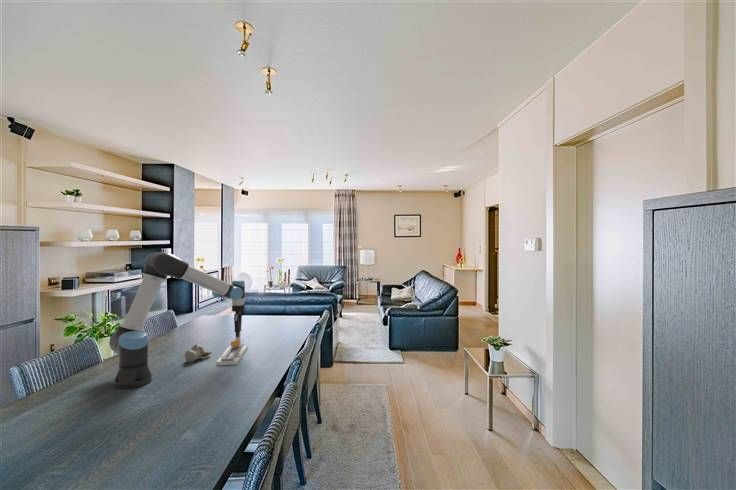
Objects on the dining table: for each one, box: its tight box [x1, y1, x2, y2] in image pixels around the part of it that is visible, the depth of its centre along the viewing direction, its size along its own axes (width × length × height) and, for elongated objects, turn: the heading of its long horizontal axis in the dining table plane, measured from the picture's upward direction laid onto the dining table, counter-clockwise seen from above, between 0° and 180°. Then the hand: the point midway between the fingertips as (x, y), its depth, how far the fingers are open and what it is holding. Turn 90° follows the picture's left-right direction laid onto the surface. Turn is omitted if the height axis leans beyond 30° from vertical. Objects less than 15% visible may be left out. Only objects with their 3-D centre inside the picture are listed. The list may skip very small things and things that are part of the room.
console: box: [216, 343, 249, 366], centre depth 208 cm, size 30×11×3 cm, turn 9°
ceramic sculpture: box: [184, 344, 212, 363], centre depth 202 cm, size 11×9×15 cm
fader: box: [230, 339, 242, 350], centre depth 215 cm, size 3×5×5 cm, turn 99°
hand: (237, 341), depth 222 cm, fingers closed
